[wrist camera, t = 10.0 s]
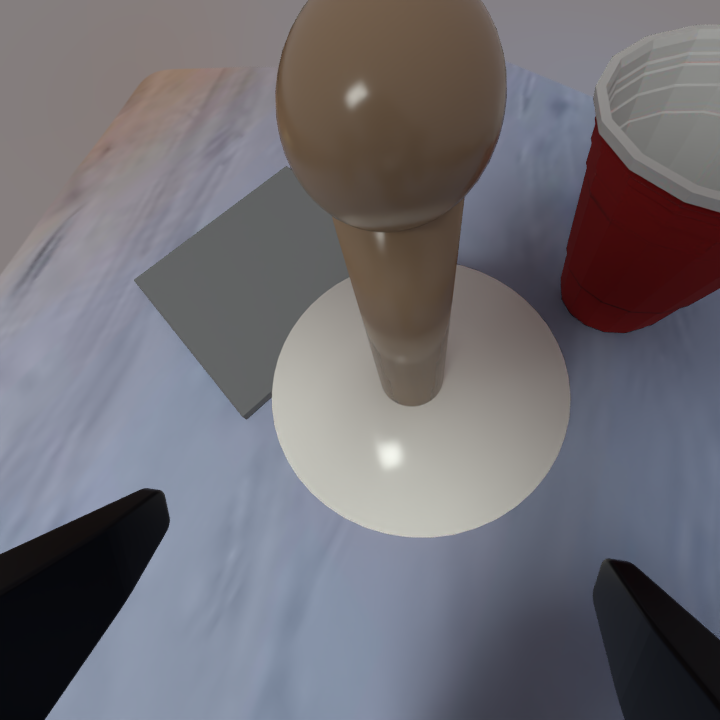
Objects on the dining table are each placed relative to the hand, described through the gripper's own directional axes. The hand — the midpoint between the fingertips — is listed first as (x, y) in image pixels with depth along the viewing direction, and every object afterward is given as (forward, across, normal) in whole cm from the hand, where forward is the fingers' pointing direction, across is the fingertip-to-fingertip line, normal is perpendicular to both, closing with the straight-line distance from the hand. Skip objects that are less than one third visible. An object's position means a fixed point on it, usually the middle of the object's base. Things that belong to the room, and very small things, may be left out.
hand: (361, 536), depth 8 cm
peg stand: (+12, 0, +2) cm, 12 cm away
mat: (+22, +11, -2) cm, 24 cm away
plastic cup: (+20, -12, -2) cm, 24 cm away
